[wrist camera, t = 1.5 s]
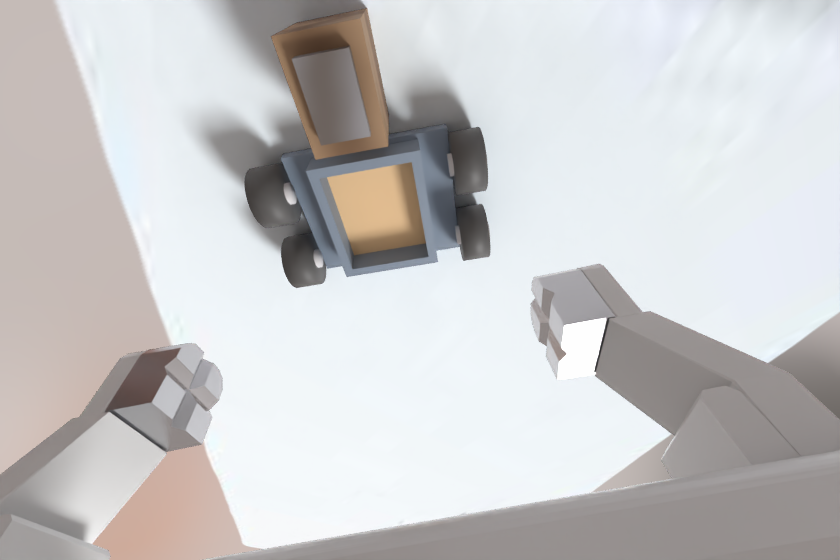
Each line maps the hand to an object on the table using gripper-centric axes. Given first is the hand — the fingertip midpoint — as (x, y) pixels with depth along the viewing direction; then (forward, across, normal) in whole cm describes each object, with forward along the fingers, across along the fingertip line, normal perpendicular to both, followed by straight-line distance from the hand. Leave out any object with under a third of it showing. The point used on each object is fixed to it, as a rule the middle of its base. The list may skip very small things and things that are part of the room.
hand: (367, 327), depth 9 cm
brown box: (+25, +2, -2) cm, 25 cm away
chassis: (+25, +2, +9) cm, 27 cm away
